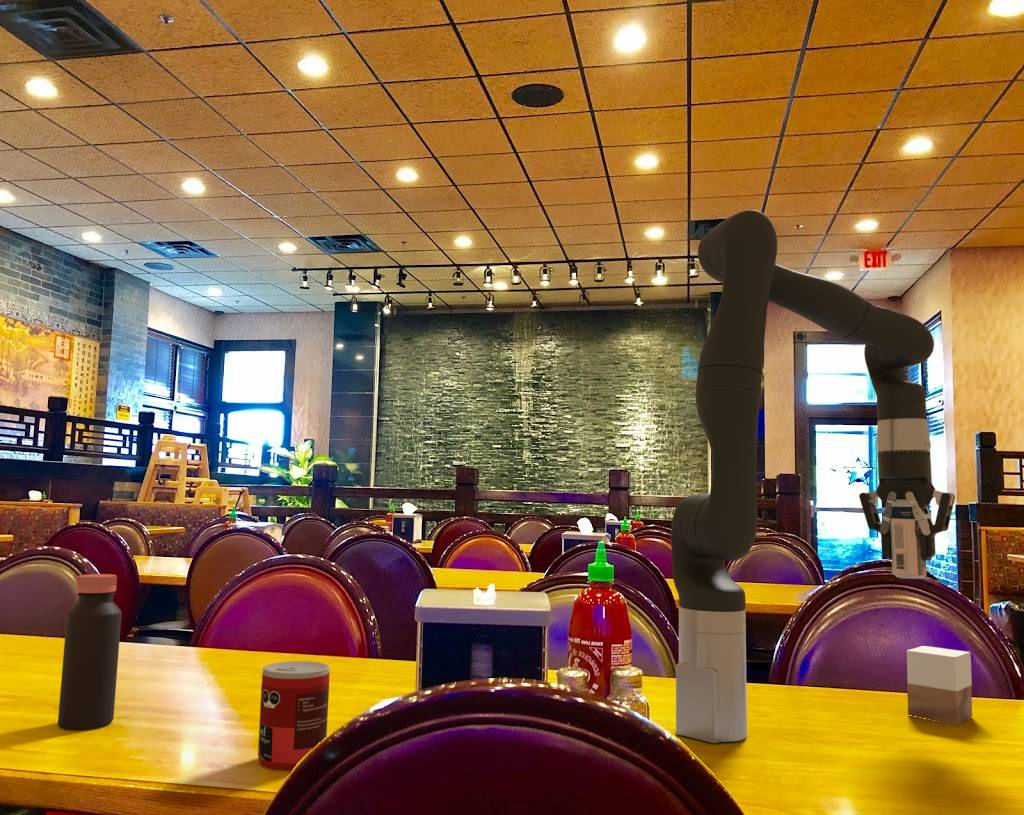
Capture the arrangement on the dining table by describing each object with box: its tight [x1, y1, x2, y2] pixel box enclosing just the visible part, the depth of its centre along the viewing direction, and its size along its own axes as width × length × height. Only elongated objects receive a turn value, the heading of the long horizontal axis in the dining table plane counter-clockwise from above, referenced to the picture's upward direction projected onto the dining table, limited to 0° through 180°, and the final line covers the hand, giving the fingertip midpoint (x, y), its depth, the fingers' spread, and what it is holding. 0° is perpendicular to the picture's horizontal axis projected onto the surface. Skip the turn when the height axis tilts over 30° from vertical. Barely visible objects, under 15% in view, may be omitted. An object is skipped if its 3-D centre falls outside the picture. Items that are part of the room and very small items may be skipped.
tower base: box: [906, 682, 973, 726], centre depth 127 cm, size 7×7×5 cm
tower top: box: [906, 645, 973, 692], centre depth 128 cm, size 7×7×5 cm
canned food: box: [257, 660, 330, 771], centre depth 99 cm, size 8×8×11 cm
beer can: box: [890, 500, 927, 580], centre depth 127 cm, size 5×5×12 cm
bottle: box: [57, 573, 122, 731], centre depth 113 cm, size 7×7×20 cm
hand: (908, 558), depth 127 cm, fingers closed on beer can, 4 cm apart
